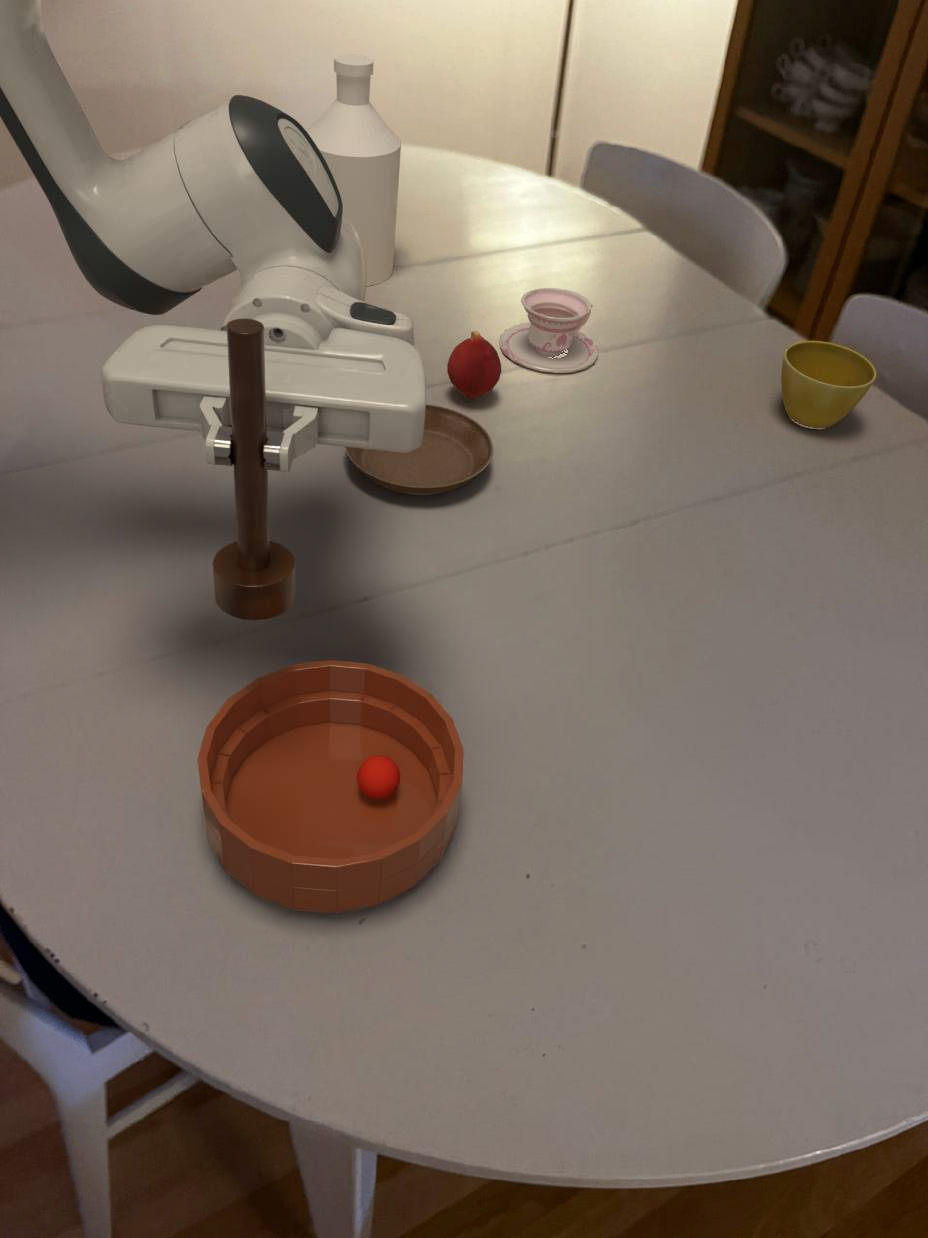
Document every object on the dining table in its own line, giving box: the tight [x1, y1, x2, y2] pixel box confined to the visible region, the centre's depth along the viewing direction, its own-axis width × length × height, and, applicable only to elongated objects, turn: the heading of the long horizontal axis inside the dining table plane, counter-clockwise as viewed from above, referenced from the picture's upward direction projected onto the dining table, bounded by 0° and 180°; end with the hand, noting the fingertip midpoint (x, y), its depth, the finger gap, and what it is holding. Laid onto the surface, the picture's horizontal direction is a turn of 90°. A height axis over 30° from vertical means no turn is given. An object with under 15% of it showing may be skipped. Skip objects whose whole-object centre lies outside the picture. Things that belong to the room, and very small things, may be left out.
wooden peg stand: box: [212, 319, 296, 621], centre depth 62 cm, size 5×5×19 cm
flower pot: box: [780, 340, 877, 429], centre depth 115 cm, size 10×10×7 cm
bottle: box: [305, 53, 402, 287], centre depth 126 cm, size 12×12×25 cm
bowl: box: [196, 659, 465, 914], centre depth 69 cm, size 17×17×6 cm
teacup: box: [499, 287, 599, 374], centre depth 121 cm, size 12×12×6 cm
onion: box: [446, 330, 502, 401], centre depth 111 cm, size 6×6×8 cm
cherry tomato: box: [357, 755, 400, 799], centre depth 71 cm, size 3×3×3 cm
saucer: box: [344, 403, 494, 496], centre depth 102 cm, size 15×15×3 cm
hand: (247, 458), depth 60 cm, fingers closed on wooden peg stand
